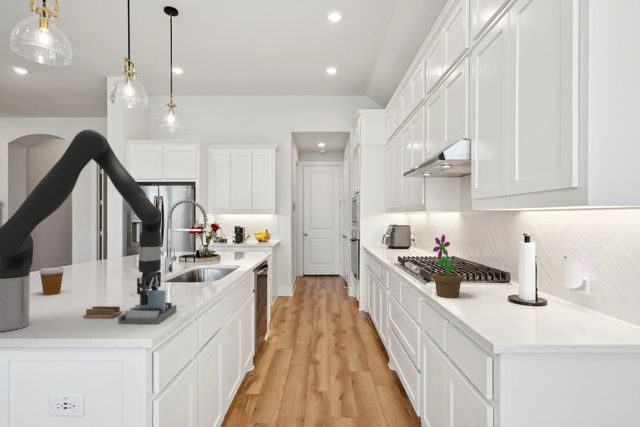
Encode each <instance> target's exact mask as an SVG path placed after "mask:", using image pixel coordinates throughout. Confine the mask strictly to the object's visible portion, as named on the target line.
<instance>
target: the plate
mask: <svg viewBox="0 0 640 427" xmlns="http://www.w3.org/2000/svg"><path fill="white" fill-rule="evenodd" d="M166 293H167V291H166V290H165V289H162V290H161V289H158V290H151V289H149V291H148V304H147V305H141V295H140V294H139V295H140V296H139V305H140V308H164V312H165V311H166V302H167V301H166V300H167V299H166V298H167V297H166V296H167V294H166Z"/></svg>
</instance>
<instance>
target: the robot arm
mask: <svg viewBox="0 0 640 427" xmlns="http://www.w3.org/2000/svg"><path fill="white" fill-rule="evenodd" d="M91 160H93V161H94V162H95V163H96V164H97V165H98V166H99V167H100V168H101V169H102V170H103V171H104V172H105V174H106V175H107V176H108V178H109V180H110V181H111V183H112V185H113V186H114V188H115V189H116V191H117V192H118V194H119V195H120V196H121V197H122V198H123V200H124V201H125V202H126V203H127V204H128V205H129V206H130V208H131V210H132V211H133V213H134V214H135V216H136V217H137V218H138V219H139V221H140V222H141V231H140V233H139V249H138V272H139V273H141V274H142V275H141V277H137V278H136V292H137V294H136V295H141V305H147V304H148V291H149V290H160V289H159V288H161V286H162V285H161V284H162V271H161V268H162V265H161V263H162V250H161V227H162V212H161V209H159V207H158V206H156V205H154V203H152V201H151V200H150V199H149V198H148V197H147V194H146V192H145V190H144V189H143V188H142V187H141V185H140V184H139V183H138V182H137V181H136V180H135V179H134V177H133V176H132V175H131V174H130V173H129V171H128V170H127V169H126V168H125V167H124V165H123V164H122V163H121V161H120V160H119V158H118V157H117V156H116V154H115V152H114V150H113V148H112V147H111V145H110V143H109V141H108V139H107V138H106V136H104V135H103V134H102V133H100V132H98V131H96V130H93V129H83V130H81V131H79V132H78V133H77V134H76V135H75V136H74V137H73V139H72V140H71V142H70V144H69V145H68V147H67V149H66V150H65V151H64V153H63V155H62V156H61V157H60V158H59V159H58V160H57V162H56V163H55V164H54V165H53V166H52V167H51V168H50V170H48V171H47V173H46V175H44V177H42V179H41V180H39V182H38V184H36V186H35V187H34V189H33V190H32V191H30V193H29V195H27V197H26V198H25V200H24V201H23V202H22V203H21V205H20V206H19V207H18V209H17V210H16V211H15V212H14V213H13V214H12V216H11V217H10V218H8V219H7V221H5V222H4V223H3V225H2V226H0V332H5V331H6V332H7V331H14V330H18V329H22V328H25V327H27V326H29V325H30V283H31V282H30V278H31V277H30V274H31V273H30V272H31V268H32V265H33V262H34V261H33V260H34V258H33V257H34V240H33V236H32V235H31V233H32V232H33V231H34V230H35V229H36V227H38V226H39V224H40V223H42V222H43V221H45V220H46V219H47V218H48V217H50V216H51V215H52V214H53V213H55V212H56V211H57V210H59V208H60V207H61V206H62V205H63V204H65V201H66V200H67V199H68V198H69V196H70V195H71V194H72V192H74V189H75V186H76V184H77V182H78V179H79V177H80V175H81V173H82V171H83V170H84V168H85V167H86V166H87V165H88V164H89V163H90V162H91Z"/></svg>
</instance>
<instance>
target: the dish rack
mask: <svg viewBox="0 0 640 427" xmlns="http://www.w3.org/2000/svg"><path fill="white" fill-rule="evenodd" d="M176 312H177V305H176V304H173V302H170V301H169V302H167V301H166V311H165V312H164V308H140V304H136V305H135V306H134V307H130V308H129V310H127V309H126V310H124V312H123V313H122V314H121V315H119V316H117V318H118V319H117V320H118V323H117V324H119V325H159V324H161V323H162V322H163V321H165V320H166V319H167V318H170V317H171V316H172V315H174V314H175V313H176Z"/></svg>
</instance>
